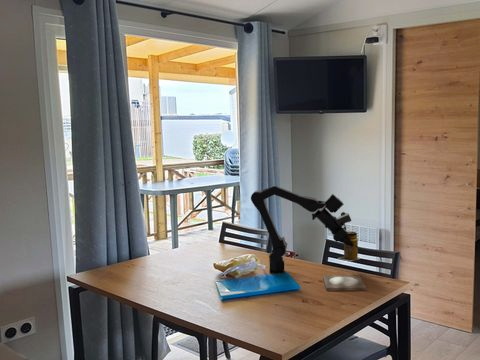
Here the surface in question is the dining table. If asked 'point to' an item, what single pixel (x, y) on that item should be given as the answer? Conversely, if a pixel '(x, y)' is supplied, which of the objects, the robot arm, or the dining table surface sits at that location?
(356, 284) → the grey flat square slab
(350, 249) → the condiment
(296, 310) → the dining table surface
